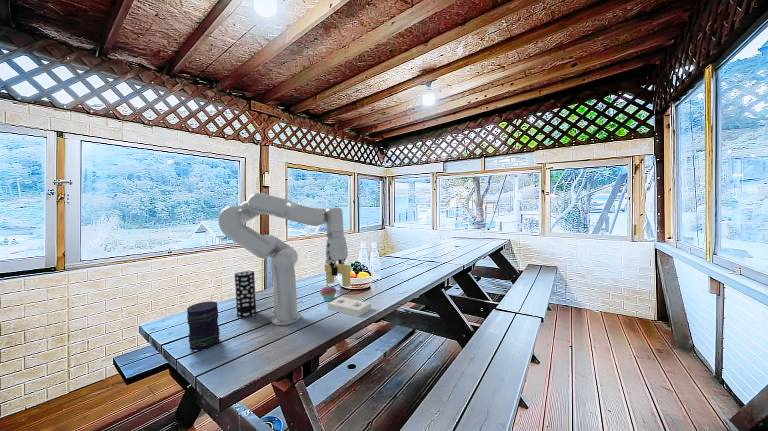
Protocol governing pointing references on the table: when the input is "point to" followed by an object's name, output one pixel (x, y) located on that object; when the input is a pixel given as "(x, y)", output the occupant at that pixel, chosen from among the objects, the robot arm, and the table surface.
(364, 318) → the table surface
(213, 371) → the table surface
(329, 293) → the cupcake
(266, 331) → the table surface
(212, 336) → the storage jar
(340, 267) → the yellow arch block
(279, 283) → the robot arm
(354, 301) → the white slab with recess
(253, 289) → the white-spotted black cylinder
